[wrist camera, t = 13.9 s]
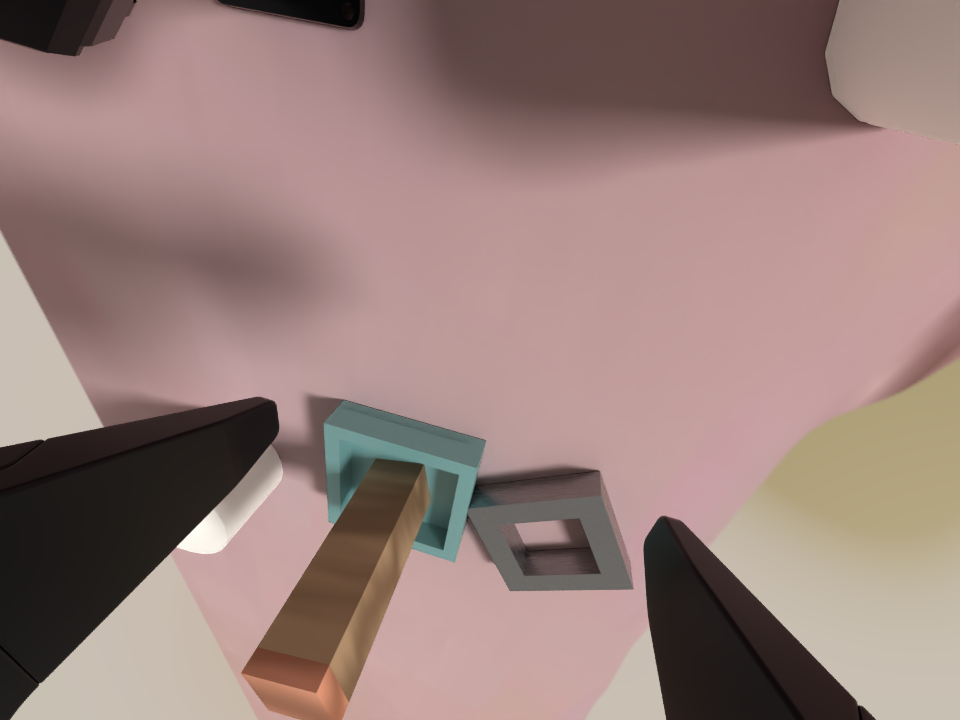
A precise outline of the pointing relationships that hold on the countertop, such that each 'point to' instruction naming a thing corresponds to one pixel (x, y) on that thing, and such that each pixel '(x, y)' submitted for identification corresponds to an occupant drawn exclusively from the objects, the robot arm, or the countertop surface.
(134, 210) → the countertop surface
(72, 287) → the countertop surface
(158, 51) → the countertop surface
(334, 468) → the tray
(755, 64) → the countertop surface
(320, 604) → the pin
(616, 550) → the grey square flat frame
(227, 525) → the cylinder with rectangular tab
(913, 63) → the foam cup
